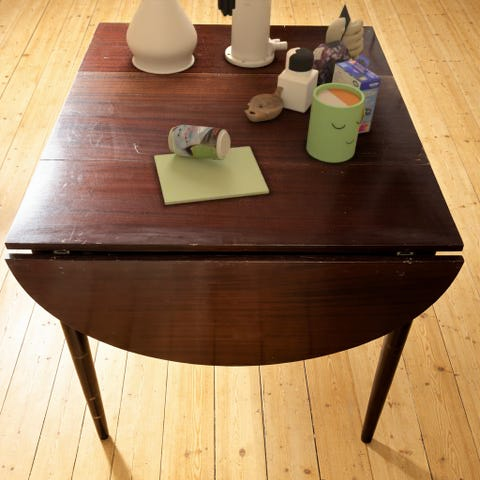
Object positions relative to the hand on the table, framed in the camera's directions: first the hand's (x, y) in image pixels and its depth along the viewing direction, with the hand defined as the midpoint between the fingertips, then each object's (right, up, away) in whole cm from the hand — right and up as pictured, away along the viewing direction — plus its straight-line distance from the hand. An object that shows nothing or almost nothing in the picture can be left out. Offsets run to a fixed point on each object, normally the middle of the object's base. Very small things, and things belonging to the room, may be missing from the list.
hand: (226, 13), depth 113 cm
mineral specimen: (+24, +1, +37) cm, 44 cm away
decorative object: (+29, +10, +45) cm, 54 cm away
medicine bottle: (+15, -7, +29) cm, 33 cm away
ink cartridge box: (+27, -13, +23) cm, 38 cm away
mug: (+23, -21, +16) cm, 35 cm away
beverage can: (0, -23, +7) cm, 24 cm away
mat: (-3, -28, +8) cm, 29 cm away
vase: (-17, +9, +42) cm, 46 cm away
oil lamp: (+8, -11, +25) cm, 28 cm away
